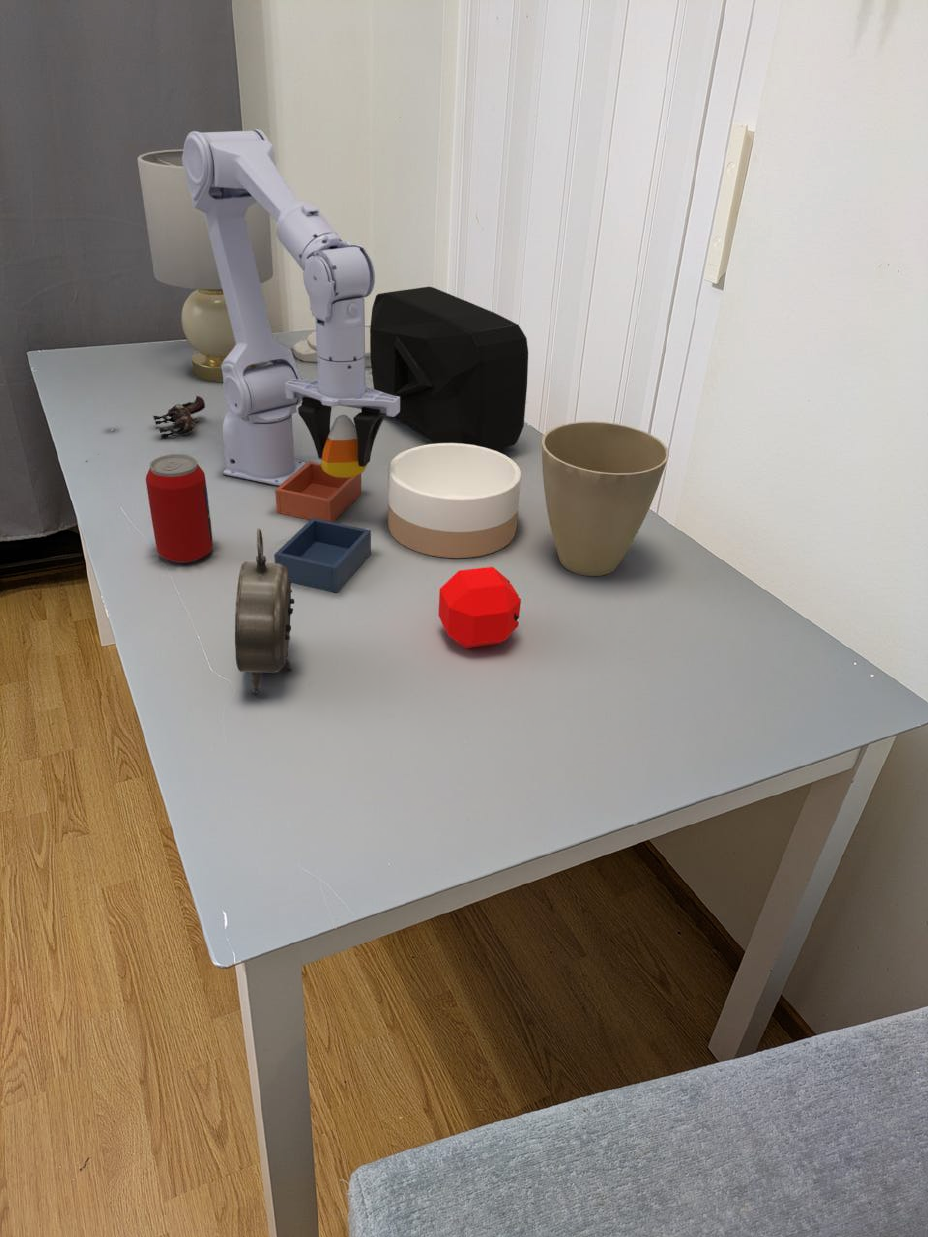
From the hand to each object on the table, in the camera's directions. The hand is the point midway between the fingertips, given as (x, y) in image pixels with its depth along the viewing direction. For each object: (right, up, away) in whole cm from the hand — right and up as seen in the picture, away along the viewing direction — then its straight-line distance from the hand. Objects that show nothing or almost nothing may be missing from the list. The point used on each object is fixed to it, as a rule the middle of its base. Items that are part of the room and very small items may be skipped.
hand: (344, 459), depth 117 cm
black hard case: (+10, +10, +33) cm, 36 cm away
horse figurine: (-32, +9, +27) cm, 43 cm away
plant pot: (+31, -13, 0) cm, 34 cm away
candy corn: (0, -2, +1) cm, 2 cm away
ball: (+17, -22, -15) cm, 32 cm away
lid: (-8, +31, +62) cm, 70 cm away
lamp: (-29, +25, +51) cm, 63 cm away
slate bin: (-2, -14, -4) cm, 15 cm away
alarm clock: (-5, -26, -22) cm, 34 cm away
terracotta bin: (-5, -4, +9) cm, 11 cm away
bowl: (+14, -8, +6) cm, 17 cm away
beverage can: (-19, -12, -3) cm, 23 cm away
